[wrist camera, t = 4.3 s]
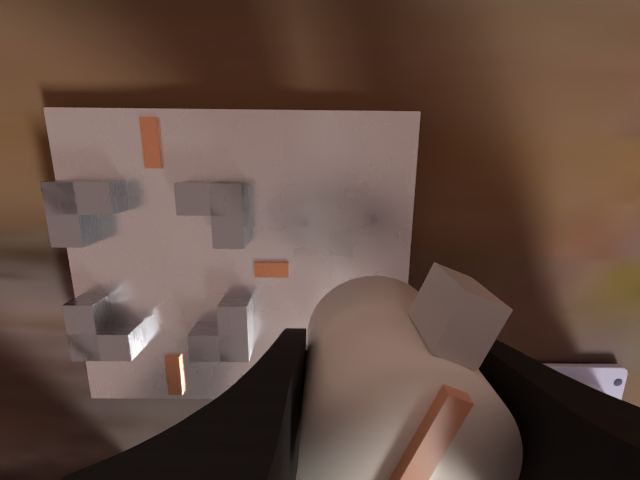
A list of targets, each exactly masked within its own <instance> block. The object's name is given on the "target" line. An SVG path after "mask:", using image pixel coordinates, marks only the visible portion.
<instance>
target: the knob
mask: <svg viewBox="0 0 640 480" xmlns="http://www.w3.org/2000/svg"><path fill="white" fill-rule="evenodd" d="M512 311H513V309H511V308H510V307H509V306H507V305H506V304H505V303H504V302H502V301H501V300H500V299H499V298H497V297H496V296H495V295H493V294H492V293H491V292H490V291H488V290H487V289H486V288H485V287H483V286H482V285H481V284H480V283H478V282H477V281H476V280H474V279H473V278H472V277H470V276H467V275H465V274H462V273H460V272H457V271H455V270H453V269H450V268H448V267H445V266H443V265H440V264H438V263H435V262H434V263H433V265H432V267H431V269H430V271H429V273H428V275H427V277H426V279H425V281H424V283H423V285H422V287H421V289H420V291H419V292H418V291H417V290H416V289H415V288H413V287H412V286H410V285H409V284H407V283H405V282H403V281H400V280H397V279H394V278H391V277H385V276H364V277H358V278H354V279H351V280H348V281H346V282H344V283H342V284H340V285H338V286H337V287H335V288H333V289H332V290H331V291H330V292H328V293H327V294H326V295H325V296H324V297H323V298H322V299H321V300H320V302H319V303H318V304H317V306H316V307H315V309H314V311H313V313H312V315H311V317H310V320H309V324H308V328H307V340H306V360H305V373H304V386H303V401H302V416H301V431H300V446H299V462H298V470H299V479H300V480H518V479H519V476H520V472H521V467H522V458H523V449H522V440H521V436H520V432H519V429H518V426H517V424H516V422H515V419H514V417H513V416H512V414H511V413H510V411H509V409H508V408H507V407H506V405H505V404H504V403H503V401H502V400H501V399H500V397H499V396H498V395H497V393H496V392H495V391H494V389H493V388H492V387H491V385H490V384H489V383H488V381H487V380H486V379H485V377H484V376H483V375H482V373H481V372H480V371H479V367H480V366H481V364H482V362H483V360H484V359H485V357H486V355H487V354H488V352H489V350H490V348H491V347H492V345H493V343H494V342H495V340H496V338H497V337H498V335H499V333H500V331H501V330H502V328H503V326H504V325H505V323H506V321H507V319H508V318H509V316H510V314H511V313H512Z"/></svg>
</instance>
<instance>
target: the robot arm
mask: <svg viewBox="0 0 640 480" xmlns="http://www.w3.org/2000/svg"><path fill="white" fill-rule="evenodd" d="M305 360H306V328H286V329H284V330H283V331H282V332H281V334H280V335H279V336H278V338H277V339H276V340H275V342H274V343H273V344H272V345H271V346H270V348H269V349H268V350H267V351H266V352H265V353H264V354H263V356H262V357H261V358H260V359H259V360H258V361H257V362H256V363H255V364H254V365H253V366H252V367H251V368H250V369H249V370H248V371H247V372H246V373H245V374H244V375H243V376H242V377H241V378H240V379H239V380H238V381H237V382H236V383H234V384H233V385H232V386H231V387H230V388H229V389H227V390H226V391H225V392H224V393H222V394H221V395H220V396H218V397H217V398H216V399H214V400H213V401H212V402H210V403H209V404H207V405H206V406H204V407H203V408H201V409H200V410H198V411H196V412H195V413H193V414H192V415H190V416H189V417H187V418H186V419H184V420H182V421H181V422H179V423H178V424H176V425H174V426H172V427H171V428H169V429H167V430H165V431H163V432H162V433H160V434H158V435H156V436H154V437H152V438H150V439H148V440H146V441H144V442H142V443H141V444H139V445H137V446H135V447H132V448H130V449H128V450H126V451H124V452H122V453H120V454H117V455H115V456H113V457H110V458H108V459H106V460H103V461H101V462H99V463H97V464H94V465H92V466H90V467H87V468H85V469H83V470H80V471H78V472H75V473H73V474H70V475H68V476H65V477H64V478H63V479H62V480H295V479H296V473H297V466H298V460H299V446H300V431H301V416H302V401H303V386H304V373H305ZM479 371H480V372H481V373H482V375H483V376H484V377H485V379H486V380H487V381H488V383H489V384H490V385H491V387H492V388H493V389H494V391H495V392H496V393H497V395H498V396H499V397H500V399H501V400H502V401H503V403H504V404H505V405H506V407H507V408H508V409H509V411H510V413H511V414H512V416H513V417H514V419H515V422H516V424H517V426H518V429H519V432H520V436H521V440H522V449H523V458H522V467H521V472H520V476H519V479H518V480H640V407H638V406H635V405H633V404H630V403H628V402H625V401H623V400H621V399H622V395H623V391H624V387H625V383H626V379H627V374H628V372H627V370H626V369H625V368H624V367H622V366H621V365H619V364H551V363H540V362H538V361H536V360H534V359H532V358H531V357H529V356H527V355H525V354H523V353H521V352H519V351H517V350H515V349H513V348H512V347H510V346H508V345H506V344H504V343H502V342H500V341H498V340H495V342H494V343H493V345H492V347H491V348H490V350H489V352H488V354H487V355H486V357H485V359H484V360H483V362H482V364H481V366H480V367H479ZM614 380H615V381H614Z"/></svg>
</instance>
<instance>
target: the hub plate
mask: <svg viewBox="0 0 640 480" xmlns="http://www.w3.org/2000/svg"><path fill="white" fill-rule="evenodd" d="M43 109H44V115H45V121H46V127H47V133H48V139H49V145H50V151H51V157H52V163H53V169H54V175H55V180H54V181H43V182H40V185H41V191H42V197H43V202H44V208H45V214H46V219H47V225H48V230H49V236H50V242H51V247H64V248H67V253H68V259H69V265H70V271H71V277H72V283H73V289H74V295H75V298H74V299H72V300H71V301H69V302H67V303H65V304H64V305H62V310H63V315H64V321H65V326H66V332H67V338H68V343H69V349H70V355H71V360H72V361H86V367H87V373H88V379H89V385H90V391H91V397H92V398H156V399H216V398H217V397H218V396H220V395H221V394H222V393H224V392H225V391H226V390H227V389H229V388H230V387H231V386H232V385H233V384H234V383H236V382H237V381H238V380H239V379H240V378H241V377H242V376H243V375H244V374H245V373H246V372H247V371H248V370H249V369H250V368H251V367H252V366H253V365H254V364H255V363H256V362H257V361H258V360H259V359H260V358H261V357H262V356H263V354H264V353H265V352H266V351H267V350H268V349H269V348H270V346H271V345H272V344H273V343H274V342H275V340H276V339H277V338H278V336H279V335H280V334H281V332H282V331H283V330H284V329H286V328H306V340H307V328H308V324H309V320H310V317H311V315H312V313H313V311H314V309H315V307H316V306H317V304H318V303H319V302H320V300H321V299H322V298H323V297H324V296H325V295H326V294H327V293H328V292H330V291H331V290H332V289H333V288H335V287H337V286H338V285H340V284H342V283H344V282H346V281H348V280H351V279H354V278H358V277H364V276H385V277H391V278H394V279H397V280H400V281H403V282H405V283H407V284H408V277H409V264H410V250H411V236H412V223H413V209H414V196H415V182H416V168H417V155H418V141H419V127H420V114H421V111H343V110H250V109H157V108H64V107H43Z"/></svg>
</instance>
